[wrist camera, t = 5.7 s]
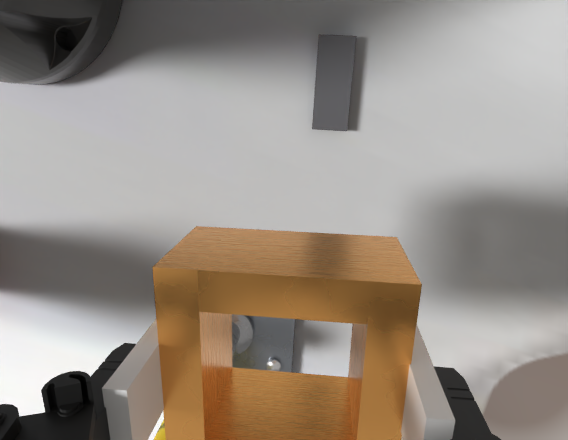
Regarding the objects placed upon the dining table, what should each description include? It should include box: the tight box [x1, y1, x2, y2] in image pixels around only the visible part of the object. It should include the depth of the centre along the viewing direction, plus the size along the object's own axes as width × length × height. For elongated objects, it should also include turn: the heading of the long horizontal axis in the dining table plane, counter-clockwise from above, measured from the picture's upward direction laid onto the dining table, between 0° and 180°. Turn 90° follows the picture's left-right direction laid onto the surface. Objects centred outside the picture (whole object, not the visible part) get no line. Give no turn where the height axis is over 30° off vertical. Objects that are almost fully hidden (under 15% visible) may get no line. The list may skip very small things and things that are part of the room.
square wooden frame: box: [153, 226, 422, 440], centre depth 16 cm, size 8×8×4 cm
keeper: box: [232, 314, 295, 372], centre depth 30 cm, size 11×9×8 cm
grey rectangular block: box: [312, 35, 356, 131], centre depth 27 cm, size 6×2×1 cm, turn 177°
